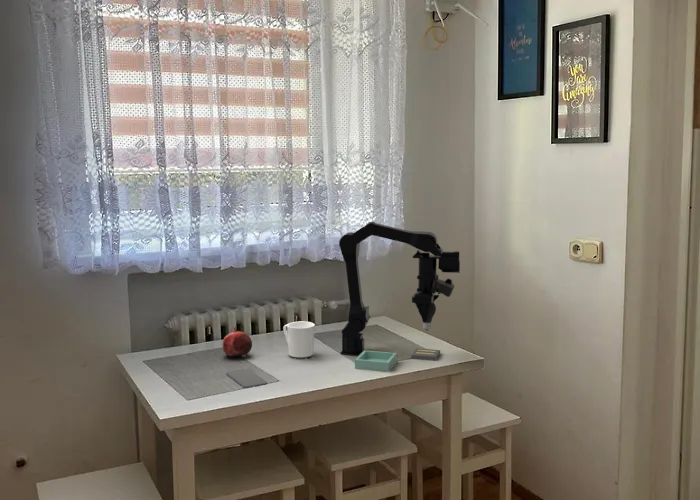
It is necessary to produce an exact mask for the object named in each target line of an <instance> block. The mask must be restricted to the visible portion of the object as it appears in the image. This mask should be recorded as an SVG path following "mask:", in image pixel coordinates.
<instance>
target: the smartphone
mask: <svg viewBox="0 0 700 500" xmlns="http://www.w3.org/2000/svg"><path fill="white" fill-rule="evenodd" d="M225 374H226V376H227V375H228V376H227V377H228V378H230V379H231V380H232V379H233V380H232V381H234V382H235V383H236V382H237V383H236V384H238V385H239V386H240V387H241V386H242V388H243V389H249V387H250V388H254V387H253V386H255V387H256V386H257V387H261V386H264V385H265V386H266V384H267V385H268V381H266V380H265V379H263V378H262V377H261V376H260V375H258V374H256V373H255V372H254V371H253V370H251V369H250V368H244V369H239V370H238V369H237V370H232V371H226V373H225ZM260 385H261V386H260Z"/></svg>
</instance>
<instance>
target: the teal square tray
mask: <svg viewBox="0 0 700 500" xmlns="http://www.w3.org/2000/svg"><path fill="white" fill-rule="evenodd" d="M397 354H398V352H389V351H387V352H386V351H379V350H378V351H377V350H365V349H364V351H363V352H362V353H361V354H360V355H357V357H356V358H354V369H357V370H365V371H366V370H368V371H378V372H387V373H389V372H390V370H391V369H392V368H393V367H394V366H395V365H396V363H397V362H398V361H397V359H398V358H397Z"/></svg>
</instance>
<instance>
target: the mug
mask: <svg viewBox="0 0 700 500" xmlns="http://www.w3.org/2000/svg"><path fill="white" fill-rule="evenodd" d="M315 326H316V324H315V323H313V322H311V321H303V320H302V321H300V320H299V321H293V322H289V323H287V324H285V325H284V326H283V328H282V329H283V334H284V337H285V339H286V342H287V345H288V356H289V358H290V359H294V358H296V359H295V360H305V358H307V359H311V358H313V357H314V354H315V353H314V351H315V350H314V349H315V346H314V345H315V342H314V341H315V328H316V327H315ZM310 357H311V358H310Z"/></svg>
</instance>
